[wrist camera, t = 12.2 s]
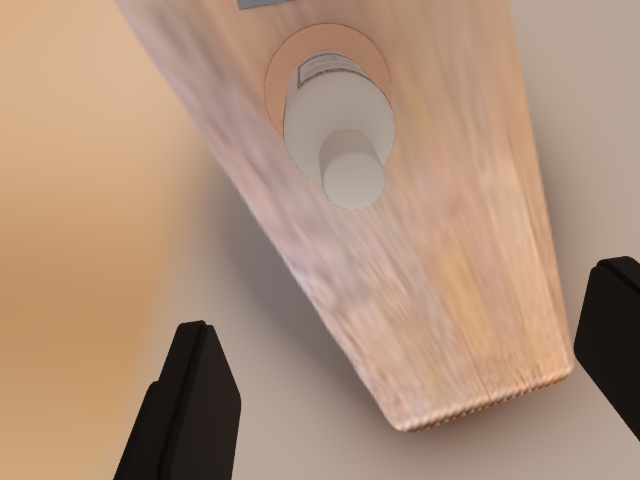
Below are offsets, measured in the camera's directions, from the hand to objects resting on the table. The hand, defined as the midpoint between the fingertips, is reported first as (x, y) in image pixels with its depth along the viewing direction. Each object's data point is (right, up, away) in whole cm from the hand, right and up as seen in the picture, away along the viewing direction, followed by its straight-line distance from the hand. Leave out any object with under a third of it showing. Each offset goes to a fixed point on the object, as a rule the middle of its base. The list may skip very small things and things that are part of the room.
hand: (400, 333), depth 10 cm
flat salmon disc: (-1, +15, +26) cm, 30 cm away
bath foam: (-1, +15, +26) cm, 30 cm away
